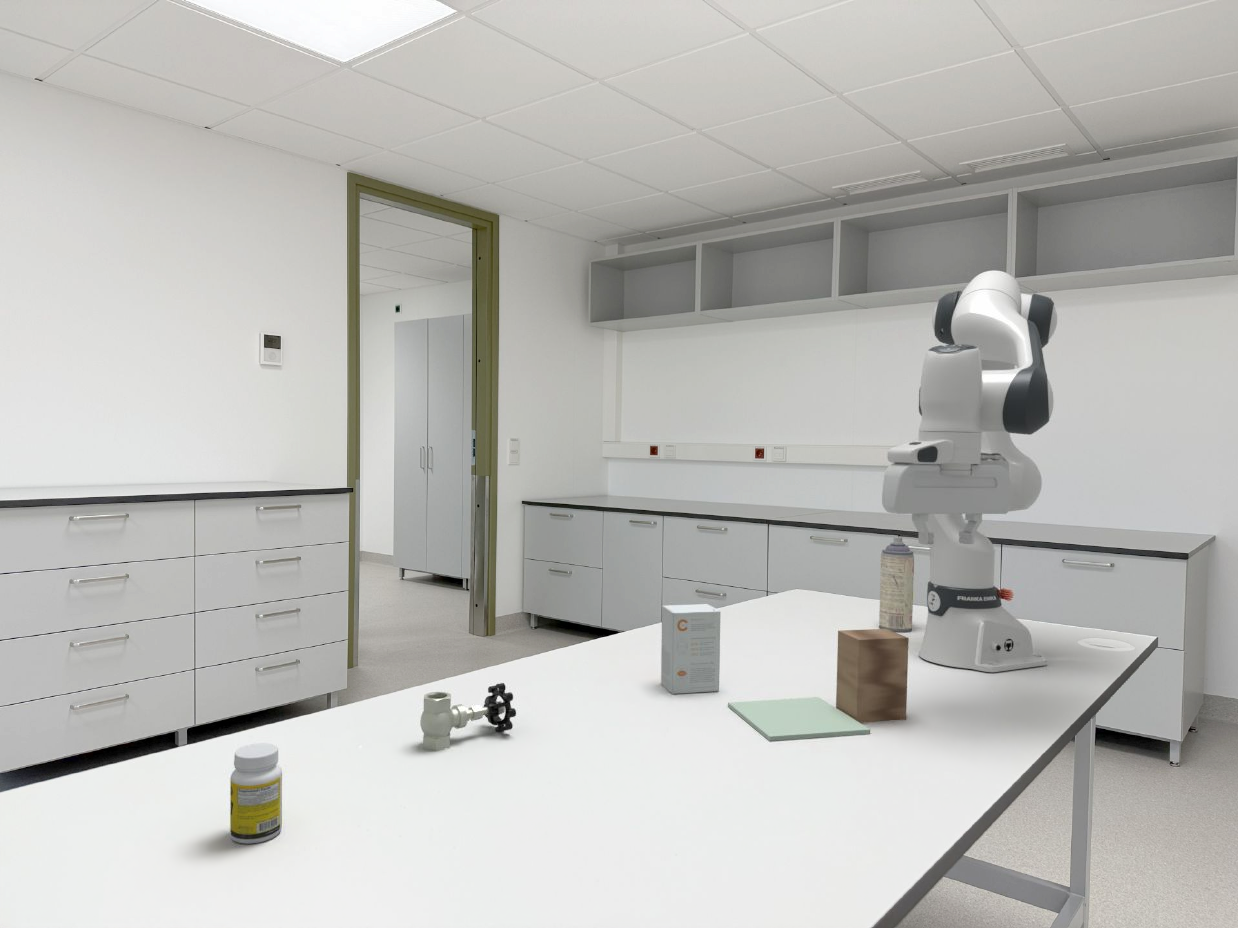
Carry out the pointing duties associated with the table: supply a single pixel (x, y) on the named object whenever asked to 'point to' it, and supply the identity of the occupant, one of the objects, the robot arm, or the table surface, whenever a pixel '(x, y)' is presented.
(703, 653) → the small box
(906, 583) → the aerosol can
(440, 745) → the valve
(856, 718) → the walnut block
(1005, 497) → the robot arm
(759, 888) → the table surface
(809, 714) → the green glass pane
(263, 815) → the supplement bottle
